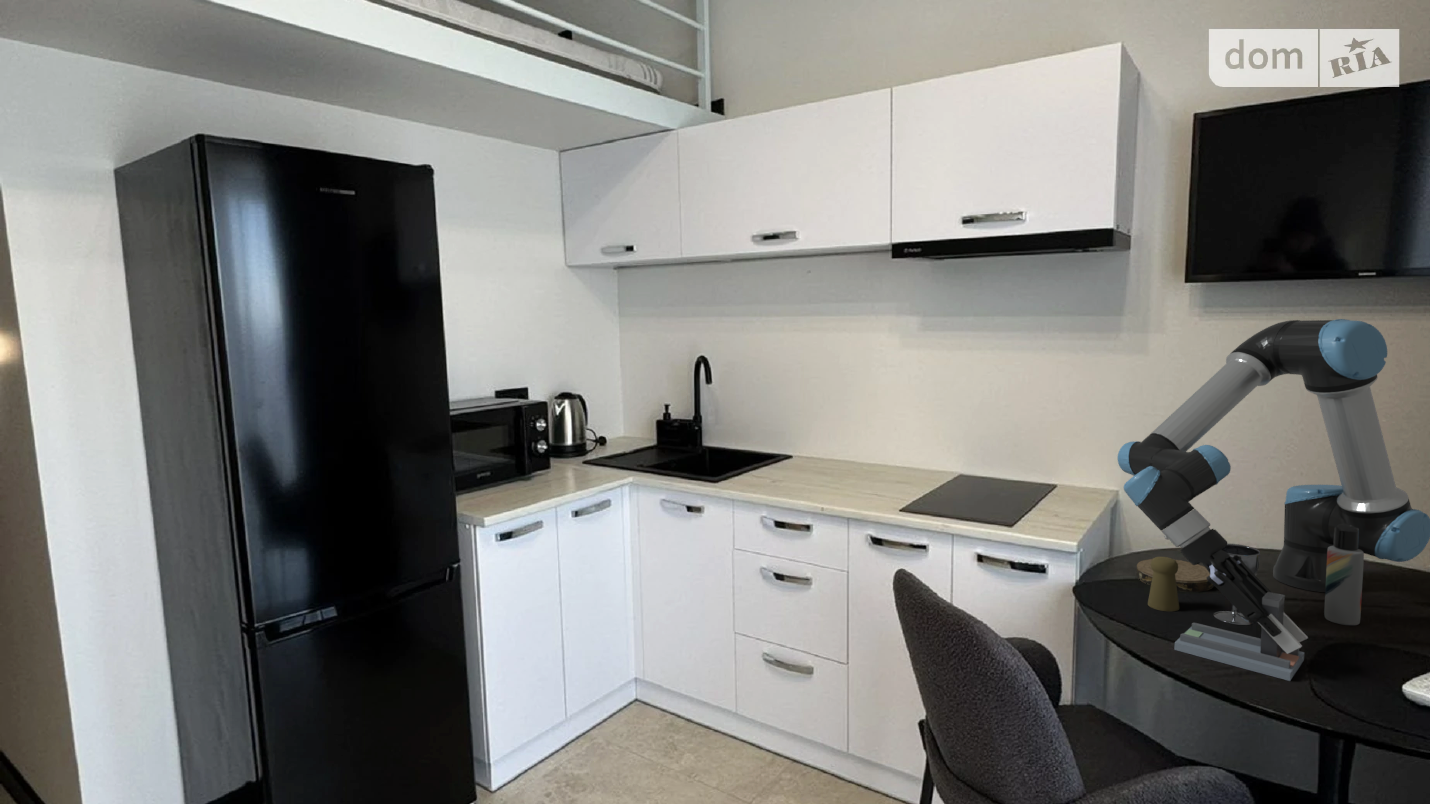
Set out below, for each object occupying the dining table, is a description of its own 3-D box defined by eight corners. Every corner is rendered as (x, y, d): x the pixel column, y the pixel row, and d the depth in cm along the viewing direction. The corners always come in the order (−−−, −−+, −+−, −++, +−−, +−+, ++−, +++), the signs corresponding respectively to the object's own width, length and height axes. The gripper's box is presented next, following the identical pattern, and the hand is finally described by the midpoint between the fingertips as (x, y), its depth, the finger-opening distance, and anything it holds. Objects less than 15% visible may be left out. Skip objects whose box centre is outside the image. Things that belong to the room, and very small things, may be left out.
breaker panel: (1174, 649, 143) (1174, 636, 142) (1192, 632, 150) (1193, 619, 150) (1290, 681, 129) (1290, 666, 129) (1303, 660, 137) (1304, 646, 136)
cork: (1184, 612, 160) (1185, 562, 159) (1153, 610, 161) (1154, 562, 160) (1172, 601, 166) (1174, 554, 165) (1143, 600, 167) (1144, 553, 166)
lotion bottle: (1352, 616, 154) (1357, 523, 152) (1365, 627, 149) (1371, 530, 147) (1319, 613, 156) (1323, 521, 154) (1331, 624, 151) (1336, 529, 149)
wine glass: (1202, 612, 160) (1204, 544, 158) (1236, 609, 160) (1239, 542, 158) (1230, 627, 152) (1233, 556, 150) (1267, 624, 152) (1269, 553, 151)
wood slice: (1215, 597, 168) (1215, 584, 168) (1135, 586, 176) (1135, 574, 176) (1212, 575, 181) (1212, 563, 181) (1137, 566, 190) (1138, 555, 189)
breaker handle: (1259, 655, 135) (1262, 597, 134) (1265, 648, 138) (1267, 591, 137) (1276, 659, 133) (1279, 601, 132) (1282, 652, 136) (1284, 595, 135)
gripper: (1193, 538, 151) (1289, 640, 140) (1164, 559, 140) (1266, 671, 129) (1224, 518, 146) (1327, 621, 136) (1197, 537, 135) (1306, 651, 125)
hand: (1297, 645), depth 133 cm, fingers closed on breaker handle, 4 cm apart
